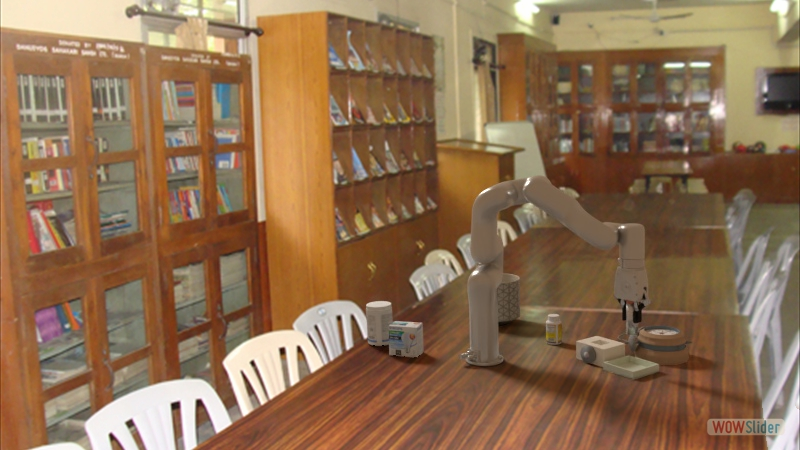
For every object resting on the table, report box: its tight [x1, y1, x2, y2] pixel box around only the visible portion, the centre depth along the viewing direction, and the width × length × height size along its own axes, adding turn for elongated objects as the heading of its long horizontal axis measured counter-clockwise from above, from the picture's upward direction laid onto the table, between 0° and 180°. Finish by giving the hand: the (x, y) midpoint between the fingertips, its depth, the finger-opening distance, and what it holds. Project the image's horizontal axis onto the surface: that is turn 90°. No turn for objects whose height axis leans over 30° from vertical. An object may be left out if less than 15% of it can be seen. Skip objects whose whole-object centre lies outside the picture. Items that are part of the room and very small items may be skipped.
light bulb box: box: [388, 320, 424, 358], centre depth 271 cm, size 11×7×11 cm, turn 70°
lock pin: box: [625, 300, 639, 336], centre depth 244 cm, size 4×4×11 cm
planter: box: [497, 272, 521, 327], centre depth 306 cm, size 19×19×18 cm
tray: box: [602, 354, 660, 381], centre depth 246 cm, size 12×12×2 cm
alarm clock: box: [617, 325, 693, 366], centre depth 260 cm, size 17×9×23 cm
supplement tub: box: [365, 300, 394, 347], centre depth 284 cm, size 10×10×15 cm
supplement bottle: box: [545, 313, 563, 346], centre depth 278 cm, size 6×6×10 cm
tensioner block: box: [575, 335, 626, 368], centre depth 257 cm, size 12×12×6 cm
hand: (631, 320), depth 244 cm, fingers closed on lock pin, 3 cm apart
